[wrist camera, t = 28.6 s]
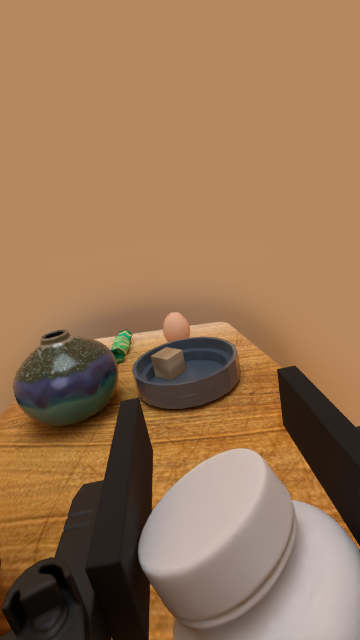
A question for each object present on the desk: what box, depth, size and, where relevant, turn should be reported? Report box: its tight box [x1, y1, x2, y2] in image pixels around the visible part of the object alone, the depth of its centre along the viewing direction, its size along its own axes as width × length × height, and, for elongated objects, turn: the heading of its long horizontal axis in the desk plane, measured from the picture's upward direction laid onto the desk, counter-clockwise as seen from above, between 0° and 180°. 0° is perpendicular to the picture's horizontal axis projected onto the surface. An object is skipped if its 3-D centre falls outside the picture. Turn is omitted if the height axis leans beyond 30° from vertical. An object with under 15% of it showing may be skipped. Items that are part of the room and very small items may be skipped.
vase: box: [13, 330, 118, 426], centre depth 48 cm, size 15×15×13 cm
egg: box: [163, 312, 190, 342], centre depth 67 cm, size 6×6×8 cm
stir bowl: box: [132, 337, 241, 409], centre depth 52 cm, size 17×17×4 cm
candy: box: [110, 330, 132, 363], centre depth 71 cm, size 12×3×4 cm
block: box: [151, 347, 186, 381], centre depth 55 cm, size 4×4×4 cm
